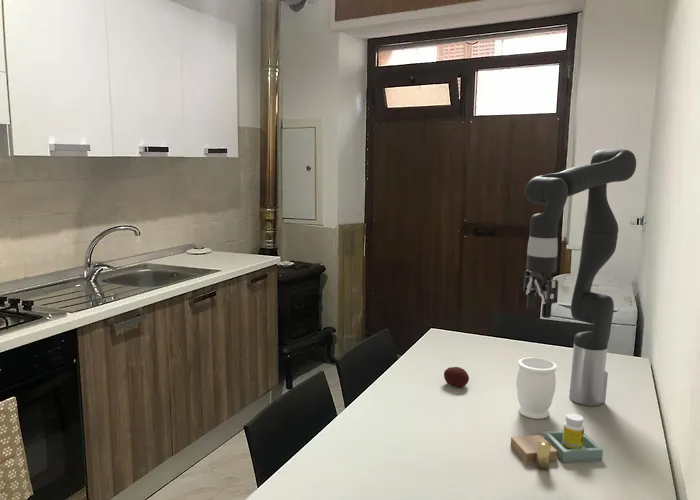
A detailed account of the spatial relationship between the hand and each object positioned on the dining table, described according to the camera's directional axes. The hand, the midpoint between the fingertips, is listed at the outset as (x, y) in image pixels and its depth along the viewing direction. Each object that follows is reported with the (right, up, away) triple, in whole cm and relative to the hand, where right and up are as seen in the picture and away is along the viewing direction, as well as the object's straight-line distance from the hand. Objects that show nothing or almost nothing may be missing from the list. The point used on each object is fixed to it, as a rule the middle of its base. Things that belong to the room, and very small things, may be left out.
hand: (538, 312), depth 148 cm
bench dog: (-5, -34, -18) cm, 39 cm away
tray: (+5, -33, -11) cm, 35 cm away
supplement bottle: (+5, -33, -11) cm, 35 cm away
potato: (-16, -27, +29) cm, 42 cm away
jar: (+2, -30, +10) cm, 32 cm away
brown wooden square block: (-5, -34, -12) cm, 36 cm away
